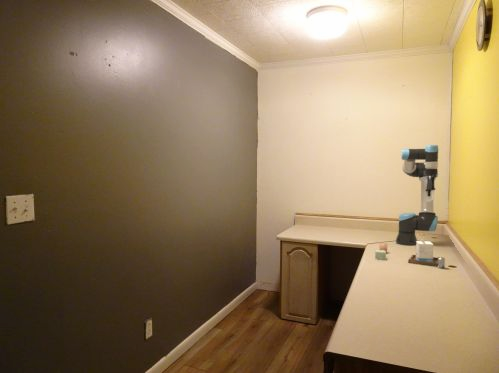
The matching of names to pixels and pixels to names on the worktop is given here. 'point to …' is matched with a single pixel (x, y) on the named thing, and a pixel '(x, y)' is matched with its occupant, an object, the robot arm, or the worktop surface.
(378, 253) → the sage block
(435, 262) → the tray
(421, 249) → the ink box
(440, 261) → the grey peg
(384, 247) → the terracotta cup
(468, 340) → the worktop surface
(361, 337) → the worktop surface
